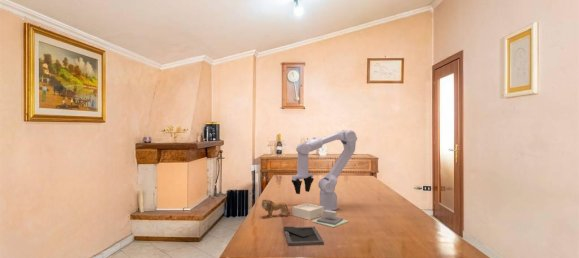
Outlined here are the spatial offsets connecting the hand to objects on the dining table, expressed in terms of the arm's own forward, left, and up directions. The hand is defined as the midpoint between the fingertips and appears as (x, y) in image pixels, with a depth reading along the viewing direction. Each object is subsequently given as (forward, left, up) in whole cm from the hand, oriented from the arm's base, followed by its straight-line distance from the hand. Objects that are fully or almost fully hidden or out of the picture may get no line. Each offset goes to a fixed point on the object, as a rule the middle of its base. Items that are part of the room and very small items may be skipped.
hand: (302, 192), depth 165 cm
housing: (+4, +7, -9) cm, 13 cm away
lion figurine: (+17, -3, -10) cm, 20 cm away
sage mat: (+5, +21, -9) cm, 24 cm away
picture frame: (+29, +25, -10) cm, 40 cm away
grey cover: (+5, +21, -9) cm, 24 cm away
